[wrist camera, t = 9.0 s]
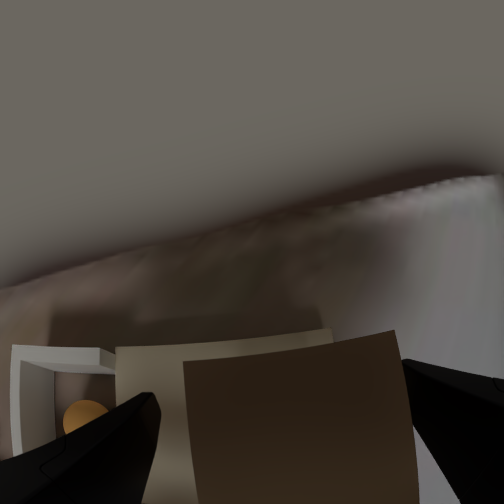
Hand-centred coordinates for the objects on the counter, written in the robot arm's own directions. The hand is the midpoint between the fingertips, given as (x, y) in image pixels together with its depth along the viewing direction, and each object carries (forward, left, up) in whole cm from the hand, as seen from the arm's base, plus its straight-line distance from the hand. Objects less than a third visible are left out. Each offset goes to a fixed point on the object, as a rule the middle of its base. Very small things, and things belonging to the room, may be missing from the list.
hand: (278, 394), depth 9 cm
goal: (+3, +12, -9) cm, 16 cm away
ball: (+2, +11, -7) cm, 14 cm away
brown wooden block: (-2, 0, -7) cm, 7 cm away
